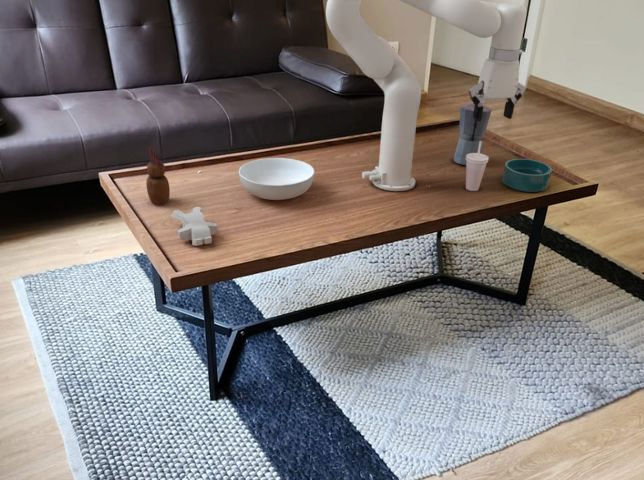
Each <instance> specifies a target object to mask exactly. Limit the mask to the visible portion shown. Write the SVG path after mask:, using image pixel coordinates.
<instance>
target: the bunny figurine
mask: <svg viewBox="0 0 644 480" xmlns="http://www.w3.org/2000/svg"><path fill="white" fill-rule="evenodd" d="M171 217H172V219H176V220H178V221H180V222H181V226H182V227H181V228H179V229H177V236H178V239H179V240H187V241H188V240H190V241H191V244H192V246H196V247H197V246H203V245H208V244H212V243H213V239H212V236H213V235H215V234H217V233H218V232H219V231H218V224H217V223H215V222H210V221H205V216H204V210H203V209H202V207H200V206H195V207H193V208H192V211H190V212H186V213H185V212H183V211H181V210H179V209H175V210H173V212H172V214H171Z"/></svg>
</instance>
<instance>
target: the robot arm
mask: <svg viewBox="0 0 644 480" xmlns="http://www.w3.org/2000/svg"><path fill="white" fill-rule="evenodd" d="M362 1H363V0H327V1H326V7H325V8H326V9H325V18H326V23H327V26H328V29H329V30H330V33H331V34H332V36H333V38H334V39H335V40H336V41H337V43H339V45H340V46H341V47H342V48H343V50H344V51H345V52H346V53H347V54H348V56H349V57H350V58H351V59H352V60H353V61H354V63H355V64H356V65H357V67H359V69H360V71H361V72H362V73H363V74H364V75H365V76H366V77H368V78H370V79H372V80H373V81H374V82H375V83H376V84H377V86H379V88H380V89H381V90H382V91H383V94H384V102H383V111H382V121H381V128H380V129H381V131H380V143H379V144H380V145H379V146H380V147H379V158H378V165H377V166H375V168H374V169H372V170H371V171H362V172H361V177H362V179H369V181H371V183H372V184H373V185H374V187H377V188H378V189H381V190H385V191H388V192H389V191H390V192H404V191H409V190H411V189H414V187H415V186H416V179H415V178H414V177H413V176H412V167H413V160H414V159H413V158H414V151H415V150H414V149H415V141H416V140H415V139H416V129H417V122H418V115H419V110H420V109H419V108H420V105H421V98H422V89H421V84H420V82H419V80H418V78H417V76H416V75H415V73H414V72H413V70H412V69H411V67H410V66H409V65H408V64H407V63H406V62H405V61H404V60H403V58H402V57H401V56H400V55H399V54H398V52H396V50H395V49H394V48H393V46H391V44H390V43H389V42H388V40H386V38H383V37H382V36H379V35H377V33H375V32H374V30H372V27H371V26H370V25H369V24H368V23H367V22H366V20H364V18H363V17H362V15H361V12H360V6H361V3H362ZM399 1H400V2H403V3H405V4H407V5H408V6H412V8H415V9H417V10H419V11H421V12H423V13H426V14H427V15H430V16H431V17H433V18H436V19H439V20H442V21H444V22H446V23H448V24H450V25H452V26H453V27H456V28H458V29H460V30H463V31H465V32H466V33H469V34H471V35H473V36H475V37H478V38H483V39H487V38H491V42H490V47H489V54H488V58H485V60H484V62H483V64H482V67H481V69H480V75H479V78H478V81H477V84H475V85H473V86H472V87H470V88H469V89H468V94H469V99H470V101H472V103H473V104H475V107H474V113H473V118H474V119H476V120H477V121H481V120H482V114H483V107H482V105H485V102H487V101H488V100H503V99H506V100H507V101H505V104H504V109H503V117H505V118H506V119H508V120H512V118H513V114H514V110H515V105H517V104H518V101H519V100H520V99H521V98H522V97H523V94H524V93H525V91H526V89H527V87H526V86H525V85H523V84H521V82H519V78H520V60H519V56H520V55H522V54H523V50H522V49H521V46H522V40H523V34H524V29H525V24H526V19H527V12H528V10H527V9H528V8H527V7H526V6H525V5H523V4H520V3H514V2H504V3H498V2H491V1H487V0H399Z"/></svg>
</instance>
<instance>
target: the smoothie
mask: <svg viewBox="0 0 644 480" xmlns="http://www.w3.org/2000/svg"><path fill="white" fill-rule="evenodd" d="M481 142H482V143H483V140H482V141H480V142H479V148H478V153H469V154H467V155H466V160H467V162H466V165H465V189H466V190H467V191H471V192H477V191H479V189H480V186H481V183H482V180H483V176H484V173H485V170H486V167H487V163H488V162H489V159H490V157H489V156H488V155H487V154H484V153H482V154H480V148H481Z"/></svg>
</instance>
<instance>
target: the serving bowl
mask: <svg viewBox="0 0 644 480" xmlns="http://www.w3.org/2000/svg"><path fill="white" fill-rule="evenodd" d="M315 172H316V171H315V169H314V167H313V166H312V165H310V164H309V163H308V162H306V161H302V160H298V159H294V158H287V157H267V158H259V159H254V160H250V161H248V162H245V163H244V164H242V165H241V166H240V167H239V169H238V176H239V181H240V183H241V185H242V187H243V188H244V189H245V190H246V191H247V192H248V193H249V194H251V195H252V196H255V197H257V198H259V199H264V200H271V201H283V200H290V199H294V198H297V197H299V196H301V195H303V194H304V193H306V192H307V191H308V190H309V189H310V187H311V186H312V184H313V181H314V179H315V174H316V173H315Z"/></svg>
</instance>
